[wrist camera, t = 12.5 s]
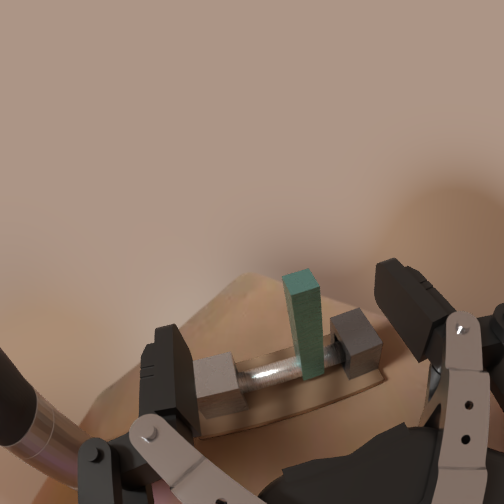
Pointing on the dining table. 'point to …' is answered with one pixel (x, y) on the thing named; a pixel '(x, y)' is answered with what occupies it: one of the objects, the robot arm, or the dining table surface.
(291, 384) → the walnut board
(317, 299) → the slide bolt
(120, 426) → the dining table surface
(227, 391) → the sleeve and socket
